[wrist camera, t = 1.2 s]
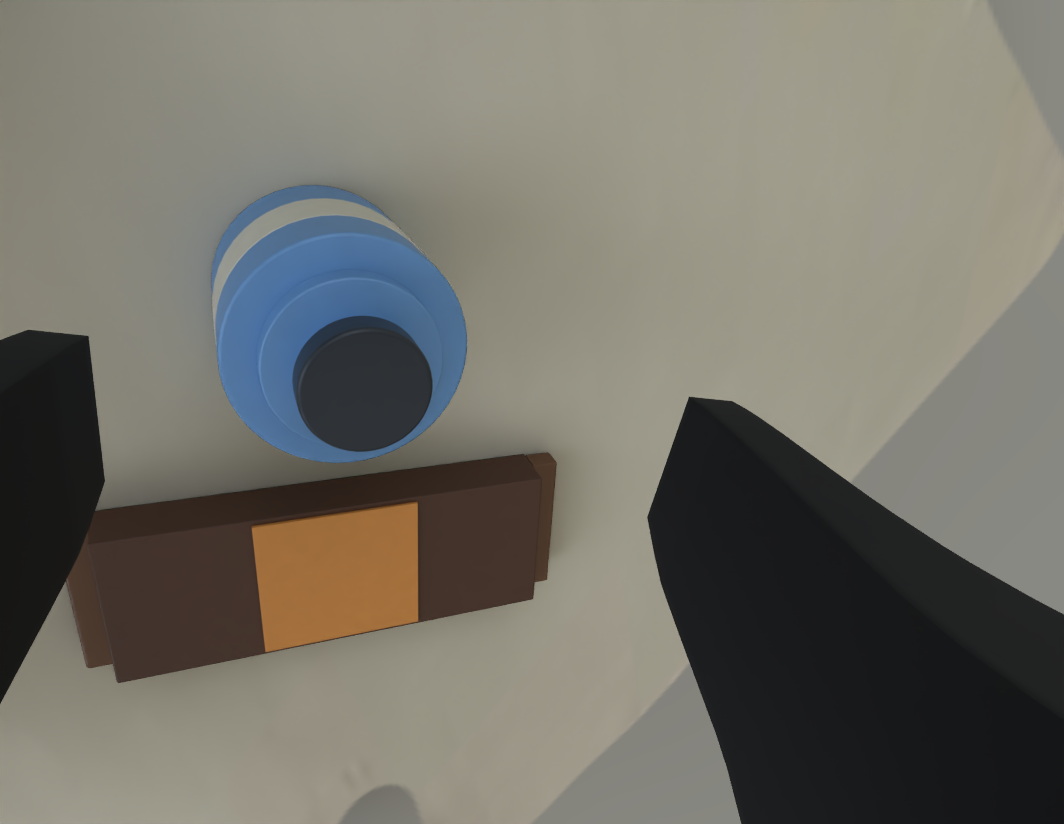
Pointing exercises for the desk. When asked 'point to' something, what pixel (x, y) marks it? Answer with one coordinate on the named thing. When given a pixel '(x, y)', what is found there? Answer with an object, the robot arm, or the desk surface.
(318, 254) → the bottle
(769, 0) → the desk surface
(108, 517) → the snack bar
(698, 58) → the desk surface
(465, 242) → the desk surface
